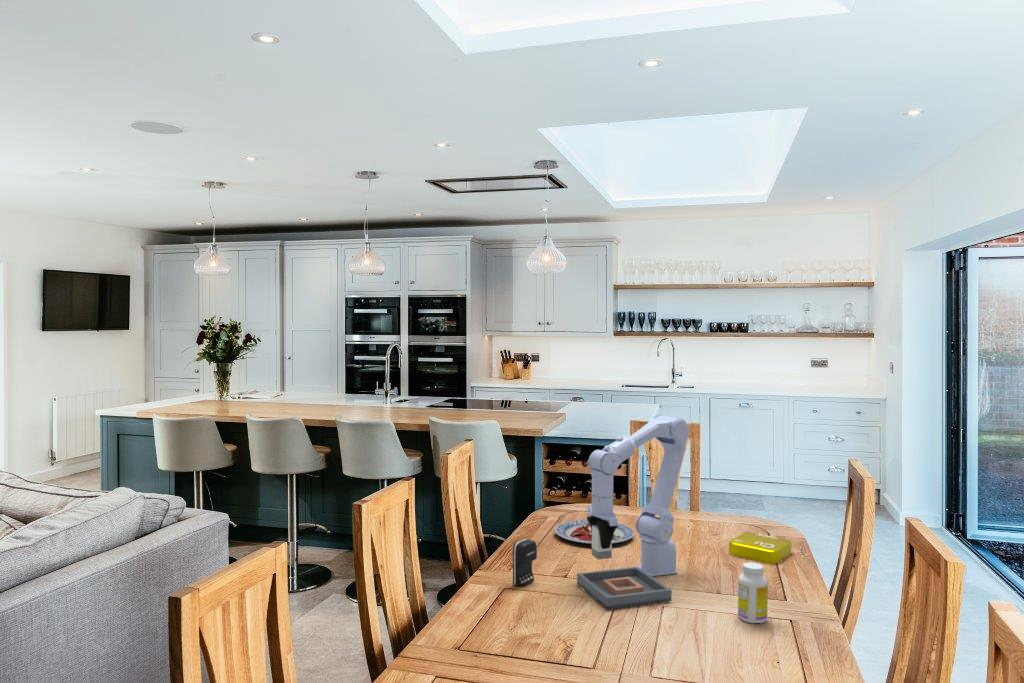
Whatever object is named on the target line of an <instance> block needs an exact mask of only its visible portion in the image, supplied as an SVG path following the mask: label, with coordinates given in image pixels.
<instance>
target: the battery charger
mask: <svg viewBox="0 0 1024 683" xmlns="http://www.w3.org/2000/svg"><path fill="white" fill-rule="evenodd" d="M537 556H538V551H537V543H536V541H534V540H532V539H528V538H523V539H521V540H519V541H517V542H515V543H514V544H513V546H512V585H514V586H517V585H518V587H525V586H527V585H529V584H531V583H533V582H534V581H535V577H534V573H533V567H532V566H533V561H536V560H537V559H538V558H537ZM532 581H533V582H532ZM530 582H531V583H530ZM528 583H529V584H528ZM526 584H527V585H526ZM524 585H525V586H524Z"/></svg>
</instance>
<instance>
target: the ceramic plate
mask: <svg viewBox="0 0 1024 683" xmlns="http://www.w3.org/2000/svg"><path fill="white" fill-rule="evenodd" d="M554 531H555V534H556V535H557V536H559V537H561V538H562V539H565V540H568V541H571V542H576V543H579V542H580V543H581V544H584V543H585V544H586V545H592V530H591V527H590V524H589V522H588V520H587V519H581V520H580V519H578V520H571V521H566V522H563V523H560V524H558V525H557V526H555V528H554ZM634 536H635V531H634V530H633V529H632V528H631V527H629V526H627V525H625V524H621V523H619V522H618V527H617V528H616V530H615V532H614V534H613V537H612V544H616V543H617V544H618V543H622V542H625V541H628V540H630V539H632V538H633V537H634Z"/></svg>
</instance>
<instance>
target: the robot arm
mask: <svg viewBox="0 0 1024 683" xmlns="http://www.w3.org/2000/svg"><path fill="white" fill-rule="evenodd" d="M689 434H690V427H689V426H688V424H687V422H686V420H685V419H683V418H682V417H681V418H680V417H671V416H666V415H665V416H664V415H661V414H656V415H654V416H653V417H651V418H649V419H648V420H647V423H646V424H645V425H643V426H642V427H640V428H639V429H638V430H637V431H635V432H634V433H633V434H631V435H630V436H628V437H627V436H618V437H616V439H615V441H613V442H611V443H610V444H608V445H604V447H603V448H602V449H595V450H593V452H591V454H590V455H589V457H588V460H587V466H588V468H589V469H590V475H591V504H589V505H587V517H586V520H588V522H589V524H590V527H591V530H592V525H597V527H598V530H599V534H600V542H601V547H602V549H606V548H610V544H611V541H612V537H613V534H614V532H615V530H616V528H617V527H618V523H619V522H618V520H619V519H618V518H619V517H616V514H615V512H614V474H615V473H616V472H617V470H618V468H619V466H620V465H621V464H622V463H623V462H624V461H626V460H627V459H630V458H631V457H632V456H633V455H635V452H636V448H639V447H641V446H642V445H644V444H646V443H648V442H649V441H651V440H653V439H656V440H657V442H659V443H660V444H661V446H662V447H663V450H664V454H663V455H662V456H663V457H662V460H661V464H660V468H659V471H658V474H657V478H656V482H655V484H654V488H653V492H652V494H651V499H650V501H649V502H650V503H648V504H646V505H645V506H644V507H642V509H641V512H640V514H639V515H638V516H637V518H636V520H635V530H636V532H637V534H638V535H639V538H640V565H635V566H634V567H638V568H640V569H641V570H643V571H644V572H646V573H647V574H649V575H650V576H652V577H657V576H666V575H673V574H674V575H675V574H678V571H677V546H676V543H675V542H674V540H673V539H672V536H673V534H674V523H675V522H674V521H675V517H674V515H673V514H672V512H671V510H670V506H671V503H672V500H673V496H674V492H675V489H676V485H677V483H678V478H679V475H680V471H681V467H682V464H683V461H684V457H685V453H686V449H687V448H686V446H687V441H688V437H689Z"/></svg>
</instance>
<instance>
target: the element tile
mask: <svg viewBox="0 0 1024 683" xmlns="http://www.w3.org/2000/svg"><path fill="white" fill-rule="evenodd" d="M728 554H729V555H730V556H732V555H734V556H733V557H736V556H737V558H741V559H745V558H746V560H750V559H751V560H750V561H754V560H756V561H755V562H759V561H760V563H763V562H765V563H764V564H767V563H768V564H767V565H777V564H776V563H779V562H780V561H781V560H783V559H784V558H785V559H787V558H788V557H789V556H788V555H790V554H791V555H792V541H791V540H790V539H785V538H782V537H777V536H775V537H774V536H771V535H766V534H760V533H755V532H751V531H744V532H743V533H741V534H739V535H737V536H736V537H733V538H732V539H730V540H729V541H728ZM791 555H790V556H791ZM787 556H788V557H787ZM786 557H787V558H786ZM785 559H784V560H785ZM784 560H783V561H784ZM781 562H782V561H781ZM781 562H780V563H781ZM769 563H770V564H769ZM780 563H779V564H780Z"/></svg>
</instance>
